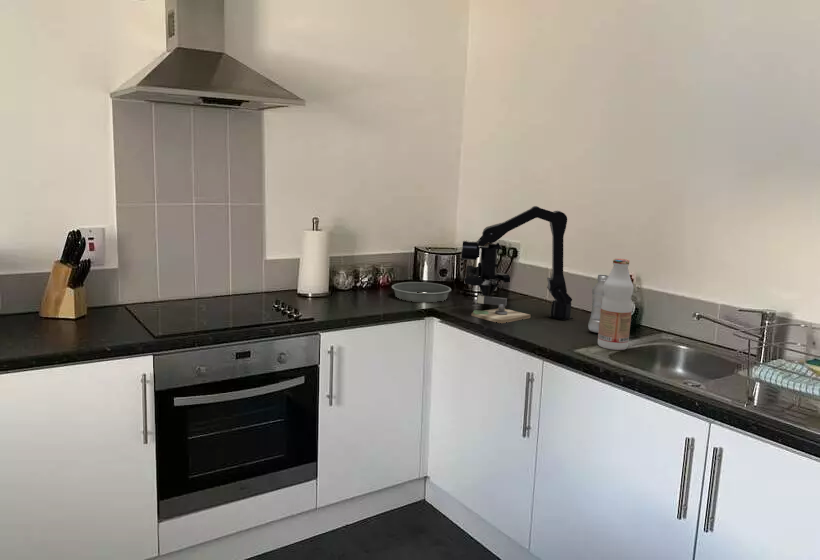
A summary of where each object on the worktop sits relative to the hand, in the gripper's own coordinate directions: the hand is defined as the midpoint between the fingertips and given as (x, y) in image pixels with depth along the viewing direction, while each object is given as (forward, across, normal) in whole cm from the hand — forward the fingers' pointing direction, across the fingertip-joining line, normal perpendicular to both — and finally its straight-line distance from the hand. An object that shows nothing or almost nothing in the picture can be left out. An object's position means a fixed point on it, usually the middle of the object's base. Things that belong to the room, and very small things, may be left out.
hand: (486, 301), depth 258 cm
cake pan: (+5, +4, -35) cm, 35 cm away
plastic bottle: (+5, -15, +40) cm, 43 cm away
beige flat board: (+4, -1, +6) cm, 8 cm away
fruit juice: (+5, -4, +54) cm, 54 cm away
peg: (+2, +1, +4) cm, 4 cm away
